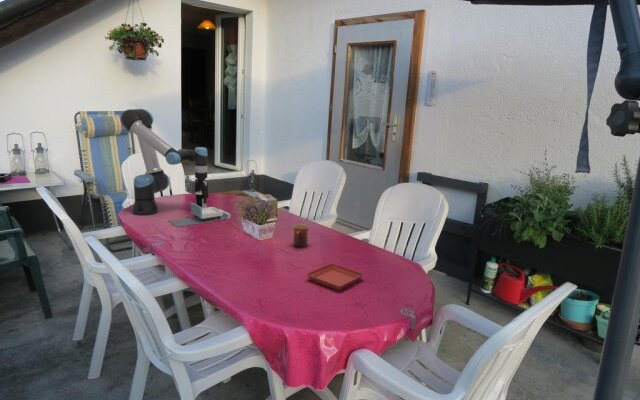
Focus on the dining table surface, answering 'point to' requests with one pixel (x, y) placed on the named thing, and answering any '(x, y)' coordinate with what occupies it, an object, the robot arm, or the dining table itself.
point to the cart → (205, 212)
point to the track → (198, 220)
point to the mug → (300, 235)
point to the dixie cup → (199, 198)
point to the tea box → (269, 200)
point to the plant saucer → (334, 276)
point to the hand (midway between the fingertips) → (201, 206)
